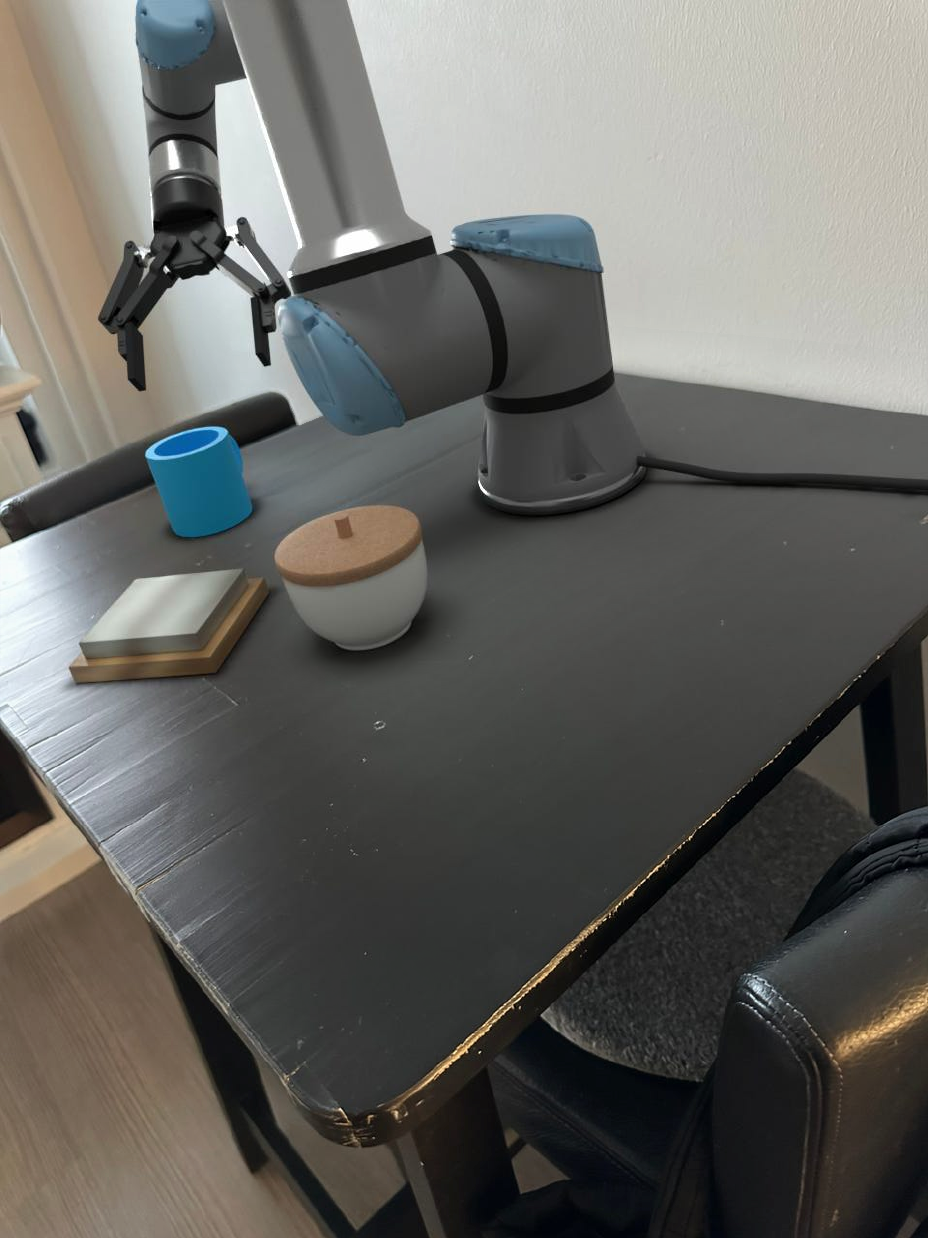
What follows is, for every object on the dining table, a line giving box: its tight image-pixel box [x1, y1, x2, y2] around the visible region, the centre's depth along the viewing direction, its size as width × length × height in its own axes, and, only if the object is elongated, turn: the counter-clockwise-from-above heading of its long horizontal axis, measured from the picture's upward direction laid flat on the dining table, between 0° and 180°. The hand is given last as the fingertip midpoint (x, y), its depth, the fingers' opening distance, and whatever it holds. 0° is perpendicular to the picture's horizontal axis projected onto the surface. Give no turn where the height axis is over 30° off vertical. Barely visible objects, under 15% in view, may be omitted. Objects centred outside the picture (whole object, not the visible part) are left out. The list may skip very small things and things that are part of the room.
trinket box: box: [273, 504, 428, 651], centre depth 75 cm, size 11×11×9 cm
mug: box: [144, 426, 253, 538], centre depth 103 cm, size 12×8×8 cm
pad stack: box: [68, 568, 270, 684], centre depth 82 cm, size 12×12×3 cm
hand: (199, 372), depth 105 cm, fingers open, 13 cm apart
